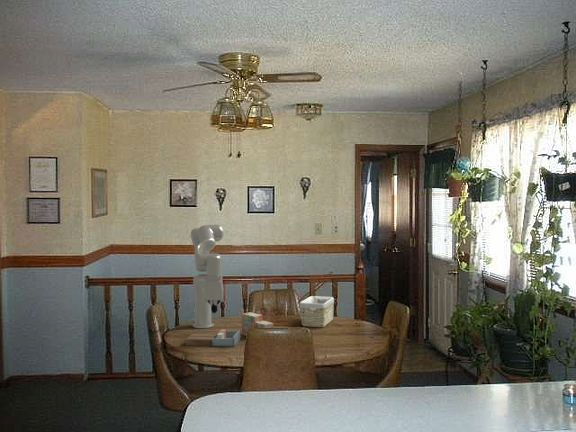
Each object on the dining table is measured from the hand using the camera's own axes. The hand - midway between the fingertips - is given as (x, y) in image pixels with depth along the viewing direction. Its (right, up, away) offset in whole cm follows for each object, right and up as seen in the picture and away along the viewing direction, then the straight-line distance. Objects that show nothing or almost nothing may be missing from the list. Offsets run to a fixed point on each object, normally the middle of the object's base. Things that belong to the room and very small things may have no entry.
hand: (214, 312), depth 317 cm
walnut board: (-7, -17, +5) cm, 19 cm away
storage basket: (+57, -15, +49) cm, 77 cm away
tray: (+6, -17, +4) cm, 18 cm away
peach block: (+2, -13, +8) cm, 16 cm away
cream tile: (+2, -14, 0) cm, 14 cm away
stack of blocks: (+22, -16, +15) cm, 31 cm away
